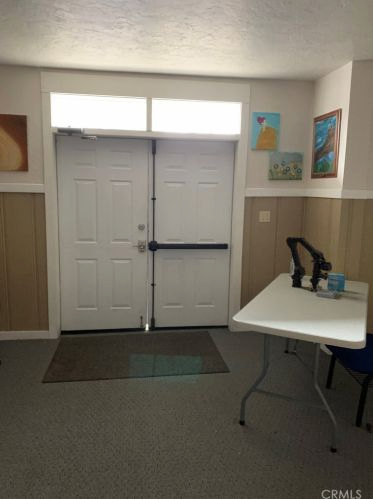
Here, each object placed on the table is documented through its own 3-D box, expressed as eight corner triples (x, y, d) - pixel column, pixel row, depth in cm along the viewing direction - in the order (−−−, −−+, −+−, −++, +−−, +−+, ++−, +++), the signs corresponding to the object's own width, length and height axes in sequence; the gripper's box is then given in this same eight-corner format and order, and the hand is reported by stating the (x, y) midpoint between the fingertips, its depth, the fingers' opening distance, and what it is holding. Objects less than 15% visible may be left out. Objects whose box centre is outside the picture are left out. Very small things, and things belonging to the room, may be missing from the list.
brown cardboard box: (308, 290, 296) (308, 286, 295) (309, 289, 300) (309, 284, 300) (320, 292, 292) (321, 287, 291) (321, 290, 296) (322, 286, 296)
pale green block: (312, 286, 295) (312, 282, 294) (313, 285, 298) (313, 281, 298) (317, 287, 293) (318, 283, 293) (318, 286, 296) (318, 282, 296)
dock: (316, 296, 283) (316, 290, 282) (318, 292, 291) (318, 287, 291) (333, 298, 277) (334, 293, 277) (335, 295, 286) (336, 290, 285)
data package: (326, 289, 302) (328, 274, 300) (327, 288, 306) (329, 272, 304) (343, 291, 297) (345, 276, 295) (344, 290, 301) (345, 274, 299)
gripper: (326, 272, 282) (324, 293, 284) (330, 268, 298) (328, 288, 301) (310, 270, 287) (308, 291, 289) (314, 266, 303) (313, 286, 306)
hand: (315, 289), depth 296 cm, fingers closed on brown cardboard box, 5 cm apart
